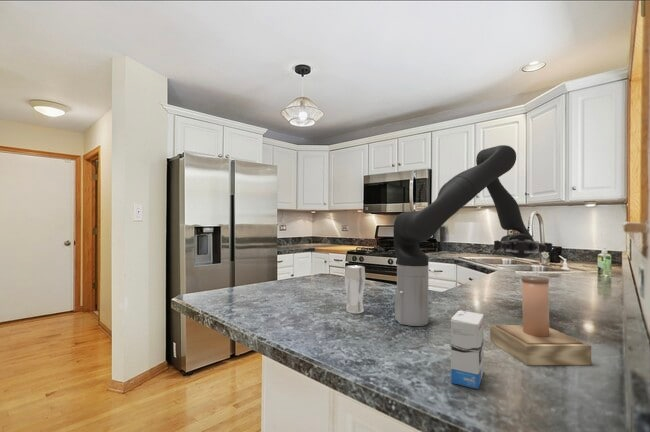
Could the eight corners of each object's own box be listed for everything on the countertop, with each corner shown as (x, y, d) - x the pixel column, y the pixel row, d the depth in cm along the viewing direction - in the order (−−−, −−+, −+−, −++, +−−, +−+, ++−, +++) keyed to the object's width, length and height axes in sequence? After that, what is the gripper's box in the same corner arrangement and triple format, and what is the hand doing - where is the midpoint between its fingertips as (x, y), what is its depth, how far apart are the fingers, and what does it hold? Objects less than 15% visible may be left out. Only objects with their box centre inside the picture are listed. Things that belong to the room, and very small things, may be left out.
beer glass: (341, 312, 106) (341, 267, 107) (348, 307, 113) (348, 264, 113) (361, 314, 104) (362, 268, 104) (367, 309, 110) (367, 265, 111)
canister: (523, 334, 74) (522, 278, 74) (521, 327, 79) (520, 275, 79) (551, 338, 71) (550, 280, 72) (548, 331, 76) (546, 277, 76)
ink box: (479, 390, 57) (478, 324, 57) (449, 383, 60) (449, 319, 60) (484, 372, 64) (484, 312, 65) (458, 366, 67) (457, 309, 67)
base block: (526, 365, 67) (526, 344, 68) (490, 340, 81) (490, 323, 82) (591, 364, 68) (591, 344, 68) (544, 340, 82) (543, 323, 82)
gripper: (494, 232, 105) (494, 232, 91) (547, 234, 98) (555, 234, 84) (494, 255, 105) (493, 259, 91) (546, 258, 98) (555, 263, 84)
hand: (523, 247), depth 87 cm, fingers open, 8 cm apart
